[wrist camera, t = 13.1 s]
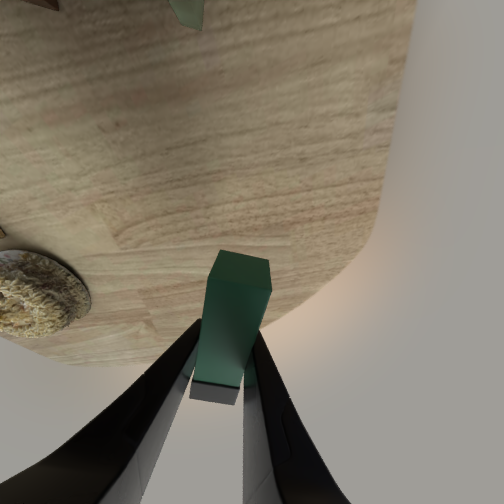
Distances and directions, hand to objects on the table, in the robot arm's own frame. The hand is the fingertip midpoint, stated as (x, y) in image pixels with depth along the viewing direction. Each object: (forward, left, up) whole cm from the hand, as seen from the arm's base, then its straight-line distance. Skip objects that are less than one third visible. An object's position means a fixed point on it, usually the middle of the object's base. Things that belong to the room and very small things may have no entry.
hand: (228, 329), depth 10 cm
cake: (+19, -12, -9) cm, 24 cm away
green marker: (0, 0, -1) cm, 1 cm away
